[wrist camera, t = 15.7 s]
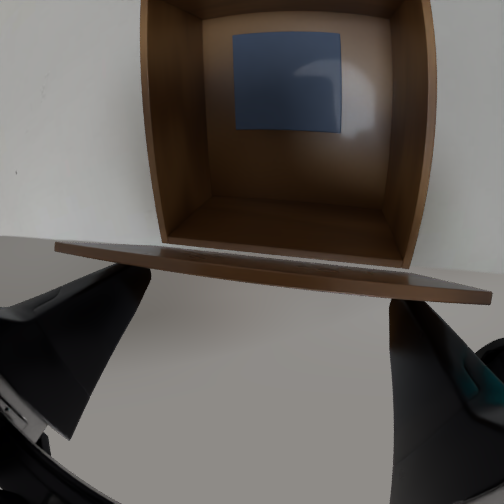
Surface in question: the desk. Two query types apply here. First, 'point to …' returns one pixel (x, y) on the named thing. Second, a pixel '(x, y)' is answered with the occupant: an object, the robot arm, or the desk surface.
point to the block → (288, 81)
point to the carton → (291, 132)
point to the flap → (282, 272)
